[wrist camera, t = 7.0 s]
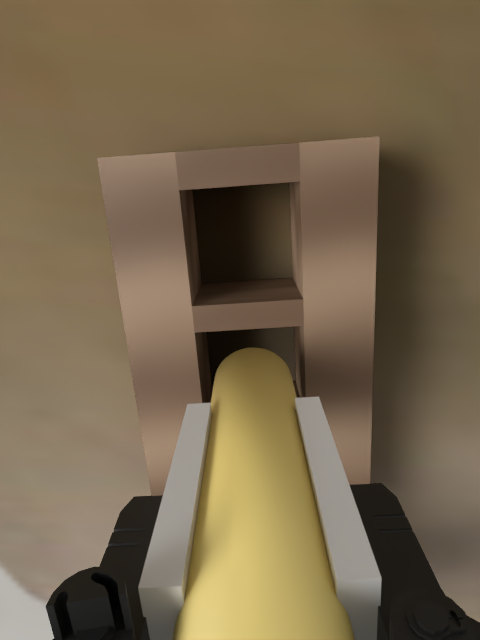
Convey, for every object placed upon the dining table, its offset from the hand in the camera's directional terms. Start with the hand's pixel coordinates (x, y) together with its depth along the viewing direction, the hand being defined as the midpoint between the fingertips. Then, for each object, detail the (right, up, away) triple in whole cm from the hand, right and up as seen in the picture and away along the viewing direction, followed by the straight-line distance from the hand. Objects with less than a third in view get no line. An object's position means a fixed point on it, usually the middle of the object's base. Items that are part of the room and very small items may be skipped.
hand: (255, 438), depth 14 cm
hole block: (0, +3, +8) cm, 8 cm away
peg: (0, +1, +4) cm, 4 cm away
